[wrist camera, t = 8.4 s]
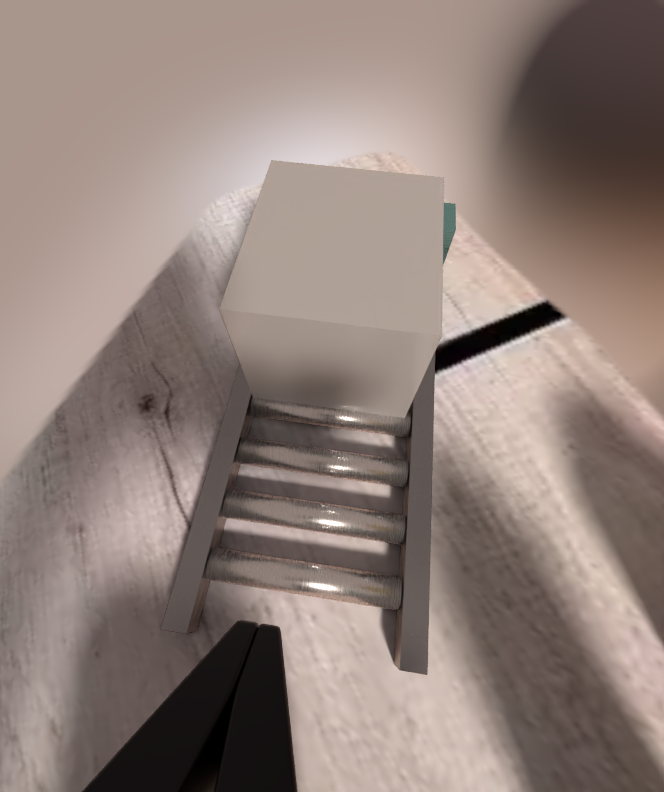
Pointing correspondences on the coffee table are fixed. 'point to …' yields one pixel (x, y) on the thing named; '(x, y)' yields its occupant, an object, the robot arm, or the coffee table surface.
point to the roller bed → (319, 511)
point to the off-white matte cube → (339, 287)
